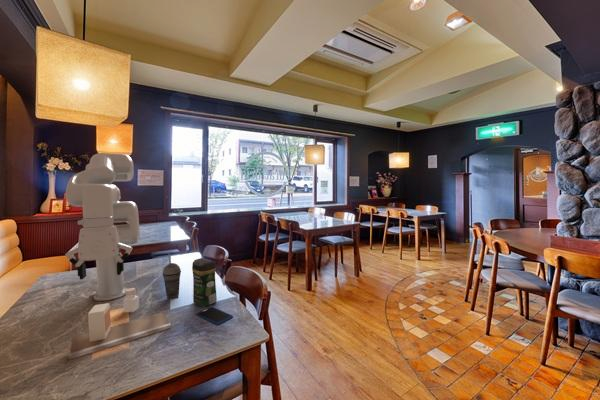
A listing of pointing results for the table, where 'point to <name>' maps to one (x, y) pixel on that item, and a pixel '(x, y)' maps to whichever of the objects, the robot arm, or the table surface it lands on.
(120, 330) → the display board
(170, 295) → the beverage cup
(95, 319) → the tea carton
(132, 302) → the pepper shaker
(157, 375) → the table surface
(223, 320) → the cell phone
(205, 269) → the coffee jar
